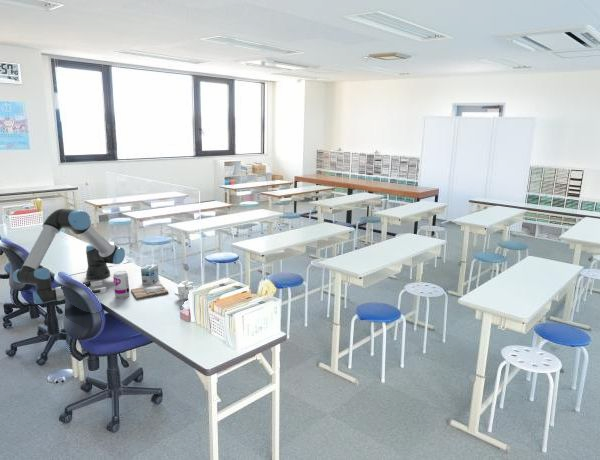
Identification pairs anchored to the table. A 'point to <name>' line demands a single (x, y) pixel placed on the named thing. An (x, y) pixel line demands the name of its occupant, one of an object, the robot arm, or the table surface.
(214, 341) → the table surface
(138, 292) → the gear board
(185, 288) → the mechanical part
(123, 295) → the supplement can
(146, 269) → the light bulb box
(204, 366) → the table surface
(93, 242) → the robot arm
